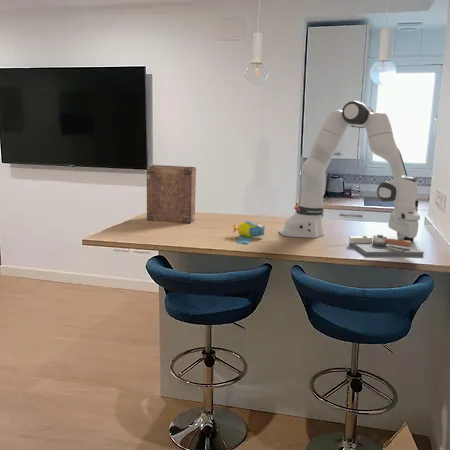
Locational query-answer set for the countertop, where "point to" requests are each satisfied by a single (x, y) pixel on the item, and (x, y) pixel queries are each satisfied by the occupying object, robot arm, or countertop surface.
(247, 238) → the yellow and blue toy
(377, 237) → the multicoloured piece
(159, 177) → the book
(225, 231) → the countertop surface
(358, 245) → the stand
